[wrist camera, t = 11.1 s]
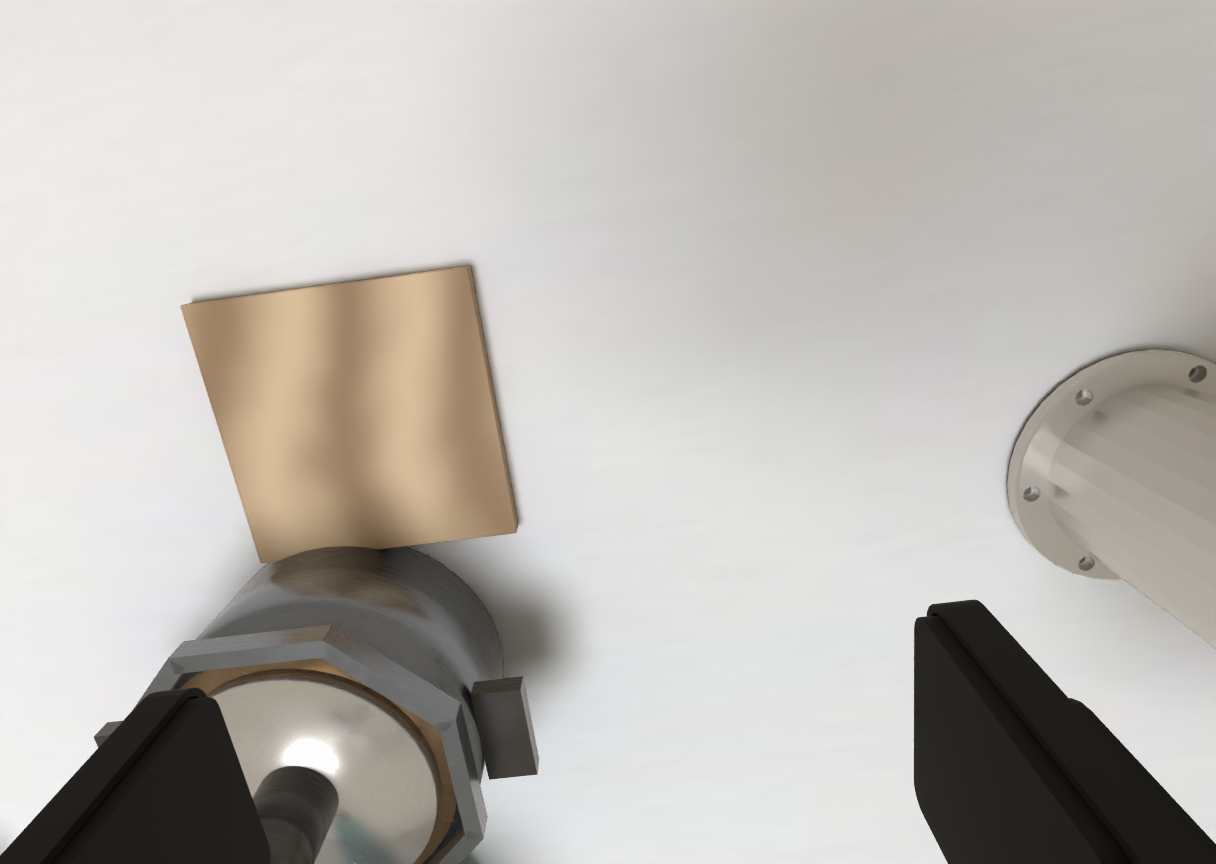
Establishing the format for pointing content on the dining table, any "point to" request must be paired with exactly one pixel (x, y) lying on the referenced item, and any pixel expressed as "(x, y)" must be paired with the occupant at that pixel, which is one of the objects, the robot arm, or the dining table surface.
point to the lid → (331, 768)
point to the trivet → (357, 412)
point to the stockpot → (381, 663)
